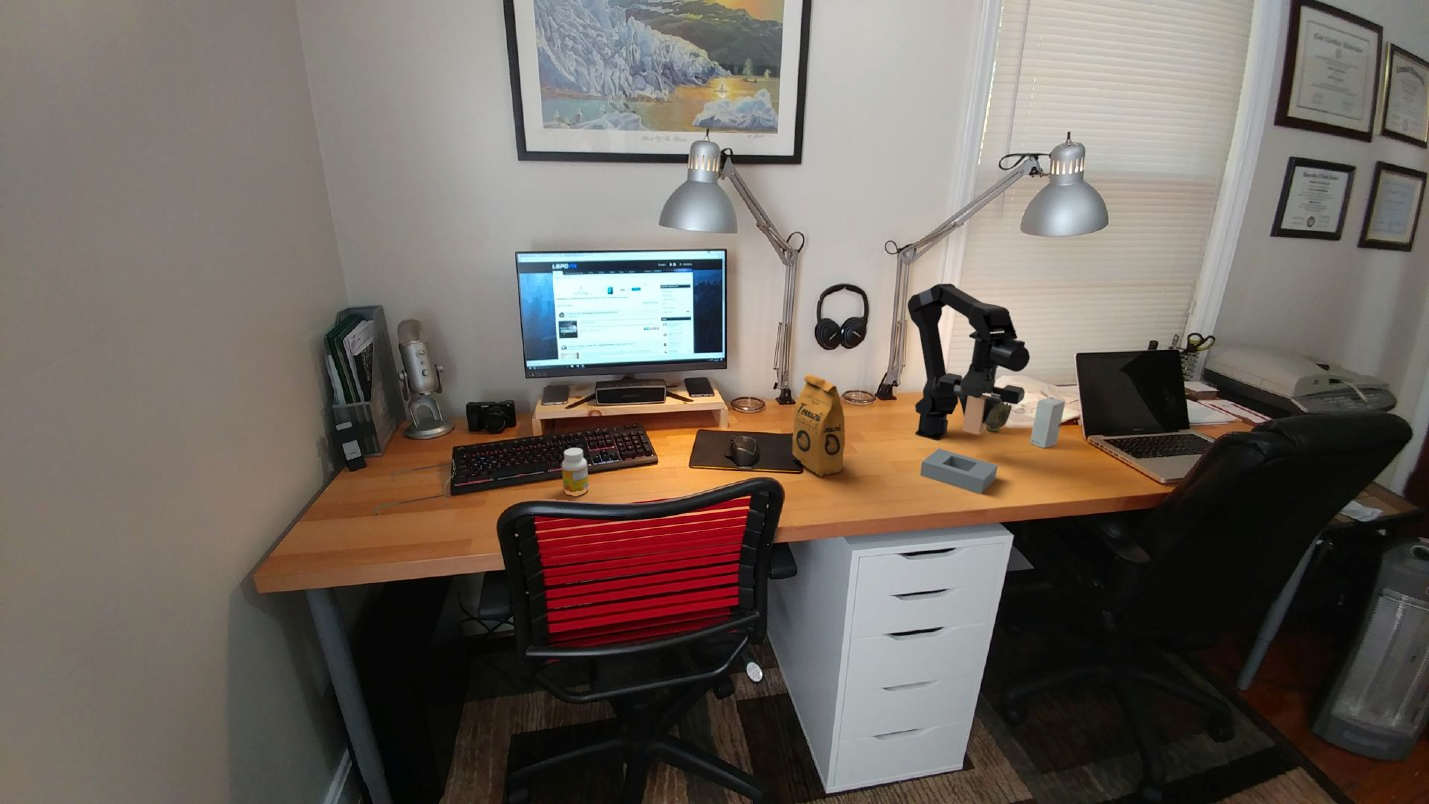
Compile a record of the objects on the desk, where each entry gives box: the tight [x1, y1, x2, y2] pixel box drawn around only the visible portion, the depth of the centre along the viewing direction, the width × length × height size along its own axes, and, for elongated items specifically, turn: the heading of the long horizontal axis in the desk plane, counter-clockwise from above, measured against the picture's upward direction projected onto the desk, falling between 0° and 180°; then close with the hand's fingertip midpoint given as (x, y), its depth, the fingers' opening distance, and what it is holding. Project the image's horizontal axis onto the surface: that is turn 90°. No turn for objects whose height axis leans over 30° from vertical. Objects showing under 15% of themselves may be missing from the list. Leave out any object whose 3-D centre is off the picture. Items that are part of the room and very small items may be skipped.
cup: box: [985, 402, 1013, 433], centre depth 166 cm, size 8×7×8 cm
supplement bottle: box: [561, 447, 589, 492], centre depth 131 cm, size 5×5×10 cm
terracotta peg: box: [961, 393, 991, 435], centre depth 147 cm, size 4×4×9 cm
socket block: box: [919, 448, 999, 495], centre depth 140 cm, size 14×10×4 cm
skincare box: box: [1029, 397, 1066, 449], centre depth 158 cm, size 6×4×12 cm
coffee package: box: [791, 373, 846, 476], centre depth 142 cm, size 10×12×22 cm
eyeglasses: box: [374, 458, 456, 514], centre depth 131 cm, size 16×15×5 cm
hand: (974, 420), depth 148 cm, fingers closed on terracotta peg, 4 cm apart
